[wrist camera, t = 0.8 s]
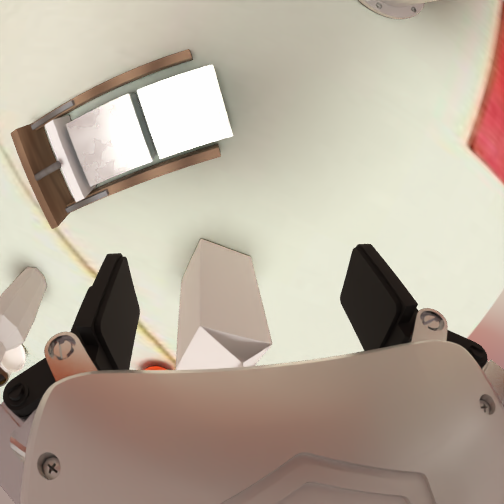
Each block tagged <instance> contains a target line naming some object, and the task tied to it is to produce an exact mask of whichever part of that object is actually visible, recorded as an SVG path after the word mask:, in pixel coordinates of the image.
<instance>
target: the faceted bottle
mask: <svg viewBox="0 0 504 504" xmlns="http://www.w3.org/2000/svg"><path fill="white" fill-rule="evenodd" d="M46 287H47V284H46V281H45V278H44V276H43V274H42V273H41V272H40V271H39V270H38V269H37V268H33V267H27V268H26V269H25V270H24V271H23V272H22V273H21V274H20V275H19V276H18V277H17V278H16V279H15V280H14V281H13V282H12V284H11V285H10V286H9V287H8V288H7V289H6V290H5V291H4V292H3V294H2V295H1V296H0V363H1V361H2V359H3V356H4V354H5V352H6V351H8V350H11V349H14V348H17V347H19V346H20V345H21V344H22V343H23V342H24V341H25V339H26V337H27V335H28V333H29V330H30V328H31V326H32V324H33V322H34V320H35V318H36V315H37V312H38V309H39V306H40V303H41V300H42V298H43V295H44V292H45V290H46Z"/></svg>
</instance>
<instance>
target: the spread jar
mask: <svg viewBox="0 0 504 504" xmlns="http://www.w3.org/2000/svg"><path fill="white" fill-rule="evenodd" d="M25 360H26V354H25V350H24V348H23V346H22V344H21V345H20V346H19V347H17V348H14V349H11V350H8V351H6V352H5V354H4V356H3V359H2V361H1V363H0V387H1V386H3V385H5V384H6V383H7V381H8V379H9V377H10V375H11V372H17V371H19V370H21V369H22V368H23V366H24V364H25Z"/></svg>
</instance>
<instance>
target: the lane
mask: <svg viewBox="0 0 504 504" xmlns="http://www.w3.org/2000/svg"><path fill="white" fill-rule="evenodd" d="M190 60H193V59H192V56H191V52H190V50H189V49H188V50H185V51H181V52H178V53H175V54H172V55H169V56H166V57H164V58H161V59H158V60H155V61H153V62H150V63H147V64H145V65H142V66H140V67H137V68H135V69H132V70H130V71H128V72H125V73H123V74H121V75H119V76H116V77H114V78H112V79H110V80H108V81H106V82H104V83H102V84H100V85H98V86H96V87H94V88H92V89H90V90H88V91H86V92H84V93H82V94H80V95H78V96H77V97H75V98H73V99H71V100H69V101H68V102H66V103H64V104H63V105H61V106H59V107H58V108H56V109H54V110H53V111H51V112H49V113H48V114H46V115H45V116H43V117H42V118H40V119H39V120H37V121H36V122H34V123H32V124H29V125H26V126H24V127H21V128H18V129H16V130H15V131H13V132H12V133H11V136H12V139H13V142H14V145H15V147H16V150H17V153H18V155H19V158H20V161H21V163H22V166H23V168H24V170H25V173H26V175H27V178H28V180H29V182H30V185H31V187H32V189H33V191H34V193H35V196H36V198H37V200H38V202H39V204H40V206H41V208H42V210H43V212H44V214H45V216H46V218H47V220H48V222H49V224H50V226H51V228H52V229H53V228H55V227H57V226H59V225H60V223H61V222H62V221H63V220H64V219H65V218H66V216H67V215H68V214H69V213H70V212H72V211H75V210H77V209H79V208H81V207H83V206H86V205H88V204H90V203H93V202H95V201H97V200H100V199H102V198H104V197H107V196H109V195H112V194H114V193H117V192H119V191H122V190H124V189H127V188H129V187H132V186H134V185H137V184H140V183H142V182H145V181H148V180H150V179H153V178H156V177H159V176H162V175H164V174H167V173H170V172H173V171H176V170H179V169H182V168H185V167H188V166H191V165H194V164H197V163H201V162H204V161H207V160H210V159H214V158H217V157H220V156H221V154H220V150H219V146H218V144H216V145H213V146H209V147H206V148H203V149H200V150H196V151H193V152H190V153H187V154H184V155H181V156H178V157H175V158H172V159H169V160H167V161H164V162H161V163H158V164H155V165H153V166H150V167H147V168H145V169H142V170H139V171H137V172H134V173H132V174H129V175H127V176H124V177H122V178H119V179H117V180H114V181H112V182H110V183H107V184H105V185H103V186H100V187H98V188H96V189H93V190H92V191H91V192H90V193H89V194H88V195H87V196H86V197H85V198H84V199H82V200H80V201H78V202H76V201H75V199H73V198H72V196H71V194H70V192H69V190H68V187H67V185H66V183H65V181H64V178H63V176H62V174H61V171H60V169H59V168H61V163H60V161H57V162H56V159H55V157H54V154H53V151H52V149H51V146H50V144H49V141H48V138H47V135H46V133H45V130H44V127H45V124H47V123H48V122H50V121H52V120H54V119H57V118H60V117H62V116H64V115H65V114H67V113H69V112H71V111H73V110H74V109H76V108H78V107H80V106H82V105H84V104H86V103H87V102H89V101H91V100H93V99H95V98H97V97H99V96H101V95H103V94H105V93H108V92H110V91H112V90H114V89H116V88H118V87H121V86H123V85H125V84H128V83H130V82H132V81H135V80H137V79H140V78H142V77H145V76H147V75H150V74H152V73H155V72H158V71H160V70H163V69H166V68H169V67H172V66H175V65H178V64H181V63H184V62H187V61H190Z"/></svg>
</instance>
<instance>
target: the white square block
mask: <svg viewBox="0 0 504 504" xmlns="http://www.w3.org/2000/svg"><path fill="white" fill-rule="evenodd" d="M66 127H67V130H68V132H69V135H70V138H71V141H72V143H73V146H74V149H75V151H76V154H77V156H78V159H79V161H80V164H81V166H82V169H83V171H84V173H85V176H86V178H87V180H88V183H89V185H90V187H91V186H93V185H96V184H98V183H100V182H103V181H105V180H107V179H110V178H112V177H114V176H117V175H119V174H121V173H124V172H126V171H129V170H131V169H134V168H136V167H139V166H142V165H144V164H147V163H150V162H152V161H153V159H154V157H155V156H156V155H157V154H156V151H155V148H154V145H153V142H152V140H151V137H150V134H149V131H148V128H147V125H146V122H145V119H144V116H143V113H142V110H141V107H140V104H139V101H138V98H137V95H136V93H132V94H130V93H128V94H126V95H123V96H121V97H119V98H117V99H114V100H112V101H110V102H108V103H106V104H104V105H102V106H100V107H97V108H95V109H93V110H91V111H90V112H88V113H86V114H84V115H82V116H80V117H78V118H76V119H74V120H73V121H71V122H69V123H67V124H66Z"/></svg>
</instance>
